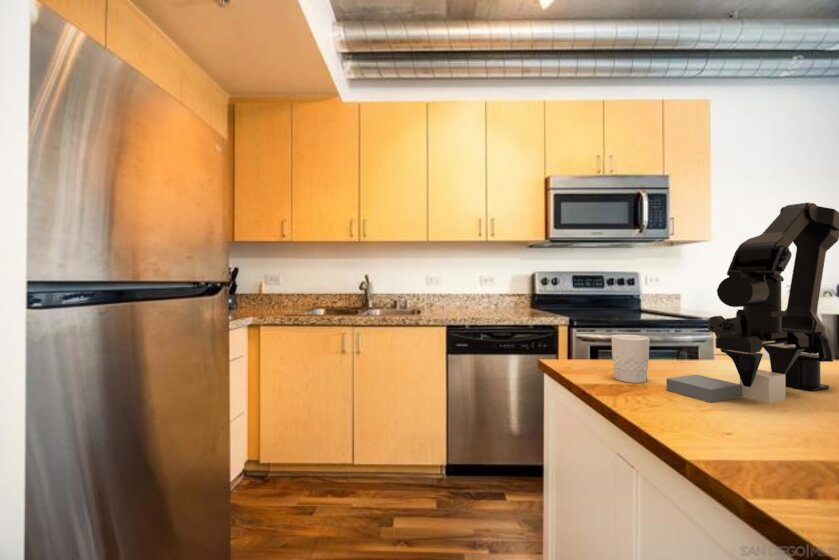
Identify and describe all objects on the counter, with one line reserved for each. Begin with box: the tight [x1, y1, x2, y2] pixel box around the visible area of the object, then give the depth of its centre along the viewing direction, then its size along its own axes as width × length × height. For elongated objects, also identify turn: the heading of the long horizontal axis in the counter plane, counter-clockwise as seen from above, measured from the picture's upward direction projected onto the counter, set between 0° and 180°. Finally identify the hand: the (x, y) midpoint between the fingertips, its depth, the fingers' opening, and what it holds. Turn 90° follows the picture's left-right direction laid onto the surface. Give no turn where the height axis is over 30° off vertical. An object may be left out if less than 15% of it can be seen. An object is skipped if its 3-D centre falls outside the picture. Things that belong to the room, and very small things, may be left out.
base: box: [666, 374, 743, 403], centre depth 81 cm, size 9×9×2 cm
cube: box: [739, 369, 787, 404], centre depth 78 cm, size 5×5×5 cm
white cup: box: [611, 334, 651, 384], centre depth 92 cm, size 8×8×10 cm
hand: (762, 384), depth 78 cm, fingers open, 9 cm apart
